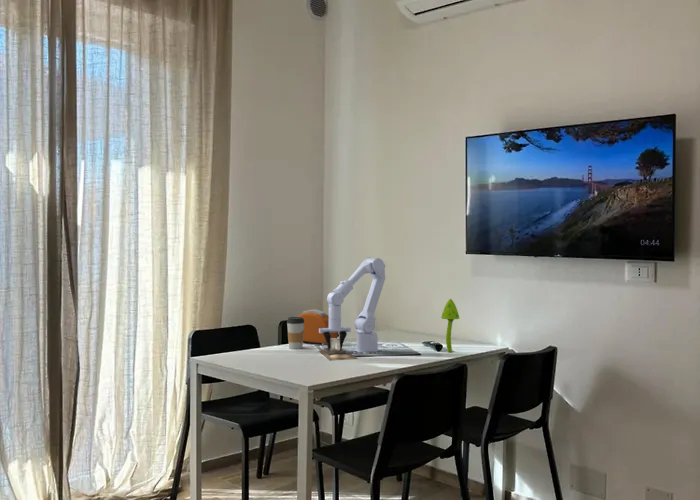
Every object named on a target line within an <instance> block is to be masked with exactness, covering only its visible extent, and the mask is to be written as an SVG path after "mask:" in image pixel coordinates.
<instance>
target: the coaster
mask: <svg viewBox="0 0 700 500" xmlns="http://www.w3.org/2000/svg"><path fill="white" fill-rule="evenodd" d="M330 357H331V358H335V359H345V358H350V355H345V354H335V355H331V356H330Z"/></svg>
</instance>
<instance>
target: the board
mask: <svg viewBox="0 0 700 500" xmlns="http://www.w3.org/2000/svg"><path fill="white" fill-rule="evenodd" d="M317 352H318V353H320V354H321V355H322V356H323V357H324V358H326V359H327V360H328V361H347V360H359V358H358V357H356V355H353V354H352V353H350V352H349V351H347V350H346V354H345V355H350V358H345V359H335V358H331V357H330V356H331V355H328V354H326V353H325V352H324V349H322V350H317Z"/></svg>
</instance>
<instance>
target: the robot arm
mask: <svg viewBox="0 0 700 500" xmlns="http://www.w3.org/2000/svg"><path fill="white" fill-rule="evenodd" d="M385 269H386V264H385V262H384V260H383V259H382V258H379V257H378V258H377V257H370V256H369V257H366V258H365V259H364V260H363V261H362V262H360V265H359V266H358V267H357V269H356V270H355V271H354V272H353V273H352V274H351V275H350V277H349V278H348V279H345V280H343V281H342V280H341V281H340V282H339V285H338V286H337V287H336V288H334V289H333V291H332V292H329V293H328V294H327V298H326V302H327V303H328V316H329V328H320V329H319V333H323V335H324V337H325V339H326V342H327V345H326V346H327V347H326V348H328V349H330V336H331V335H330V333H333V332H338V336H339V339H340V348H343V345H344V341H345V338H346V337H347V335H348V333H351V332H352V328H351V327H350V326H348V327H347V326H345V327H344V326H342V304H343V303H344V299H345V298H346V297H347V296H348V295H349V294H350V293H351V291H352V290H354V286H355V284H356V283H357V282H358V281H359V280H360V279H361V278H363V276H365V274H370V276H371V277H372V281H371V284H370V288H369V290H368V294H367V296H366V300H365V303H364V306H363V309H362V310H361V312H360V313H359V314H358V316H357V318H356V319H354V322H353V323H354V328H355V329H356V348H355V349H354V351H356V352H357V353H368V352H373V353H374V352H379V351H378V348H379V347H378V346H379V345H378V343H379V342H378V341H379V339H378V338H379V337H378V334H377V332H376V331H374V330H375V327H376V325H375V324H376V323H375V322H376V316H375V312H376V308H377V306H378V304H379V298H380V296H381V293H382V290H383V287H384V285H385V281H386V270H385Z"/></svg>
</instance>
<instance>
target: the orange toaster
mask: <svg viewBox="0 0 700 500" xmlns="http://www.w3.org/2000/svg"><path fill="white" fill-rule="evenodd" d="M297 317H303V319H304V334H303V342H308V343H309V342H311V343H317V344H318V343H319V344H320V343H321V346H327V342H326V339H325V337H324V335H323V333H319V329H320V328H329V314H327V313H326V312H324V311H323V310H319V309H308V310H304V311H302V313H300V315H297ZM330 335H331V336H330V339H331V338H338V336H339V332H333V333H330Z"/></svg>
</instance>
